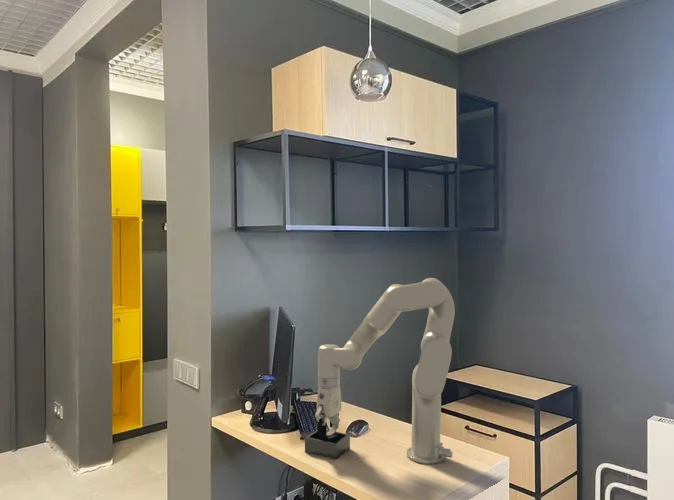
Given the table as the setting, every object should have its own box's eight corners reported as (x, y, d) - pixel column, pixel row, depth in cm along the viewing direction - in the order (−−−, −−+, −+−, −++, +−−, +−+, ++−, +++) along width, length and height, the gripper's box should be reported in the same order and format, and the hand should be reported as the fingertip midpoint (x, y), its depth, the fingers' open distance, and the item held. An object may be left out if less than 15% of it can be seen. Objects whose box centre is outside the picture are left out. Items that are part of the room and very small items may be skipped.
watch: (342, 442, 177) (342, 411, 177) (325, 449, 172) (325, 416, 172) (330, 438, 181) (331, 407, 181) (313, 444, 176) (314, 412, 176)
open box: (349, 448, 178) (350, 434, 178) (336, 459, 169) (336, 444, 169) (319, 442, 184) (319, 428, 184) (304, 452, 175) (305, 437, 175)
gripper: (326, 389, 167) (325, 442, 167) (349, 376, 182) (349, 425, 183) (306, 385, 170) (305, 438, 171) (331, 374, 186) (330, 422, 186)
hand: (328, 431), depth 177 cm, fingers closed on watch, 8 cm apart
